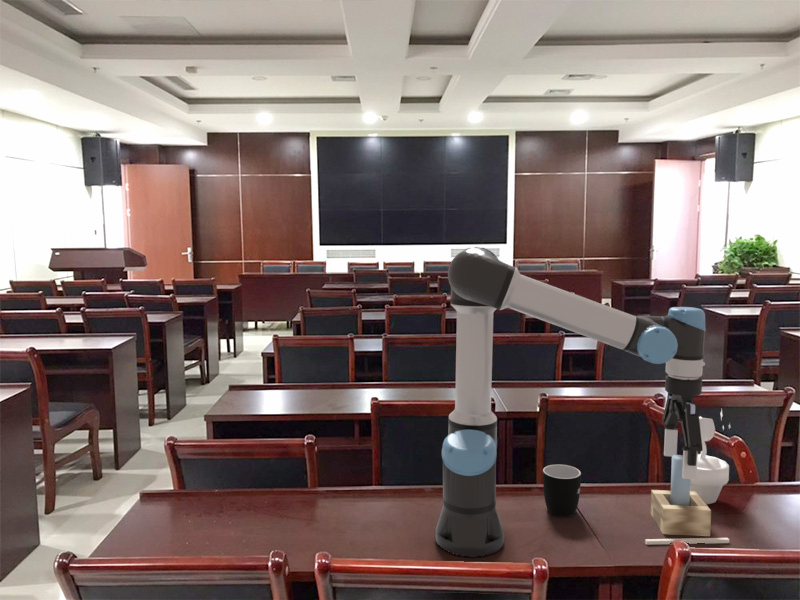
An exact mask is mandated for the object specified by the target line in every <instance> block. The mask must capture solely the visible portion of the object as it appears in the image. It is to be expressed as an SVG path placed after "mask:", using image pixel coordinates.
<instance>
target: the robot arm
mask: <svg viewBox="0 0 800 600" xmlns="http://www.w3.org/2000/svg"><path fill="white" fill-rule="evenodd" d="M447 279H448V283H449V285H450V306H451V307H452V308H453V309H454V310H455V311H456V340H455V341H456V343H455V344H456V345H455V346H456V347H455V348H456V349H455V350H456V351H455V393H454V397H455V398H454V399H455V400H454V403H455V405H454V409H453V411H451V412H450V413H449V415H448V429H447V431H448V434H447V436H446V437H445V438H444V440H443V443H442V448H441V458H442V502H443V503H442V504H443V505H442V509H441V511H440V514H439V518H438V522H437V524H436V527H435V542H436V544H437V546H438V545H439V546H440V547H441V548H440V547H439V546H438V547H439V548H440V549H442V548H443V549H444V550H443V549H442V550H443V551H445V550H446V551H449V552H451V553H454V554H457V555H456V556H458V555H462V556H461V557H464V556H469V557H468V558H478V557H477V556H481V557H486V556H485V555H487V556H490V555H493V554H494V553H496V552H499V551H500V550H501V549H502V548H503V546H504V543H505V532H504V528H503V525H502V521H501V519H500V515H499V512H498V510H497V503H496V501H497V499H496V498H497V487H496V486H497V454H498V453H497V452H498V451H497V449H498V438H497V435H498V434H497V433H498V430H497V429H498V418H497V416H496V414H495V413H494V412H493V411H492V386H493V385H492V382H493V381H492V379H493V377H492V376H493V372H492V371H493V343H494V342H493V338H494V312H495V311H496V310H499V311H502V310H504V309H510V310H513V311H516V312H518V313H521V314H524V315H526V316H529V317H533V318H535V319H538V320H541V321H543V322H546V323H549V324H551V325H554V326H557V327H560V328H561V329H562V328H563V329H565V330H568V331H570V332H572V333H575V334H578V335H582V336H584V337H587V338H590V339H592V340H595V341H598V342H600V343H603V344H606V345H609V346H611V347H614V348H616V349H619V350H622V351H624V352H627V353H629V354H631V355H635V356H637V357H640V358H642V360H643V361H646V362H648V363H651V364H654V365H655V364H656V365H661V364H665V373H666V375H665V380H664V383H665V385H664V390H665V392H666V393H667V397H666V402H665V406H664V410H663V414H662V419H661V421H662V422H661V423H662V424H663V426H664V440H663V441H664V442H663V443H664V444H663V456H664V457H672V456H673V455H678V436H679V435H678V432H679V431H678V430H679V429H680V426H679V425H681V430H682V436H683V441H684V446H683V447H682V448H681V451H683V453H682V455H683V469H682V478H683V479H696V475H697V457H698V454H699V452H701V451H702V450H703V448H702V440H701V431H700V422H699V417H700V405H699V404H695V402H694V399H693V398H694V397H698V396H701V394H702V393H703V391H702V390H703V379H702V378H701V377H702V376H703V371H704V370H703V367H704V366H706V363H705V361H704V349H705V337H706V331H707V330H706V329H707V328H706V313H705V311H704V310H703V309H701V308H697V307H690V306H678V307H677V306H673V307H670V308H669V309H668V313H667V315H664V316H655V315H654V316H653V315H633V314H630V313H628V312H625V311H622V310H620V309H617V308H614V307H611V306H608V305H606V304H602V303H601V302H600V303H599V302H597V301H595V300H592V299H589V298H587V297H584V296H582V295H579V294H576V293H574V292H571V291H567V290H564V289H562V288H558V287H556V286H553V285H552V284H551V285H550V284H548V283H546V282H542V281H539V280H538V279H534V278H532V277H529V276H527V275H523V274H521V273H520V271H519V269H518V267H516V266H513V265H510V264H507V263H505V262H503V261H501V260H500V259H499V257H497V255H496V254H495V253H494V252H493V251H491V250H490V249H487V248H485V247H479V246H475V247H473V246H471V247H468V248H464V249H463V250H462V251H460V252H458V253H457V254H456V255H455V256H454V257H453V258H452V260H451V262H450V264H449V267H448V272H447ZM679 423H680V424H679ZM446 551H445V552H446ZM449 552H448V553H449ZM451 553H450V554H451ZM492 553H493V554H492ZM454 554H453V555H454ZM489 554H490V555H489Z"/></svg>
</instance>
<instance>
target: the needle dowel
mask: <svg viewBox="0 0 800 600" xmlns="http://www.w3.org/2000/svg"><path fill="white" fill-rule="evenodd" d="M670 468H671V473H670V491H671V499H670V505H683V506H689V505H690V479H683V478H682V469H683V454H677V455H673V456H671V467H670Z"/></svg>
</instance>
